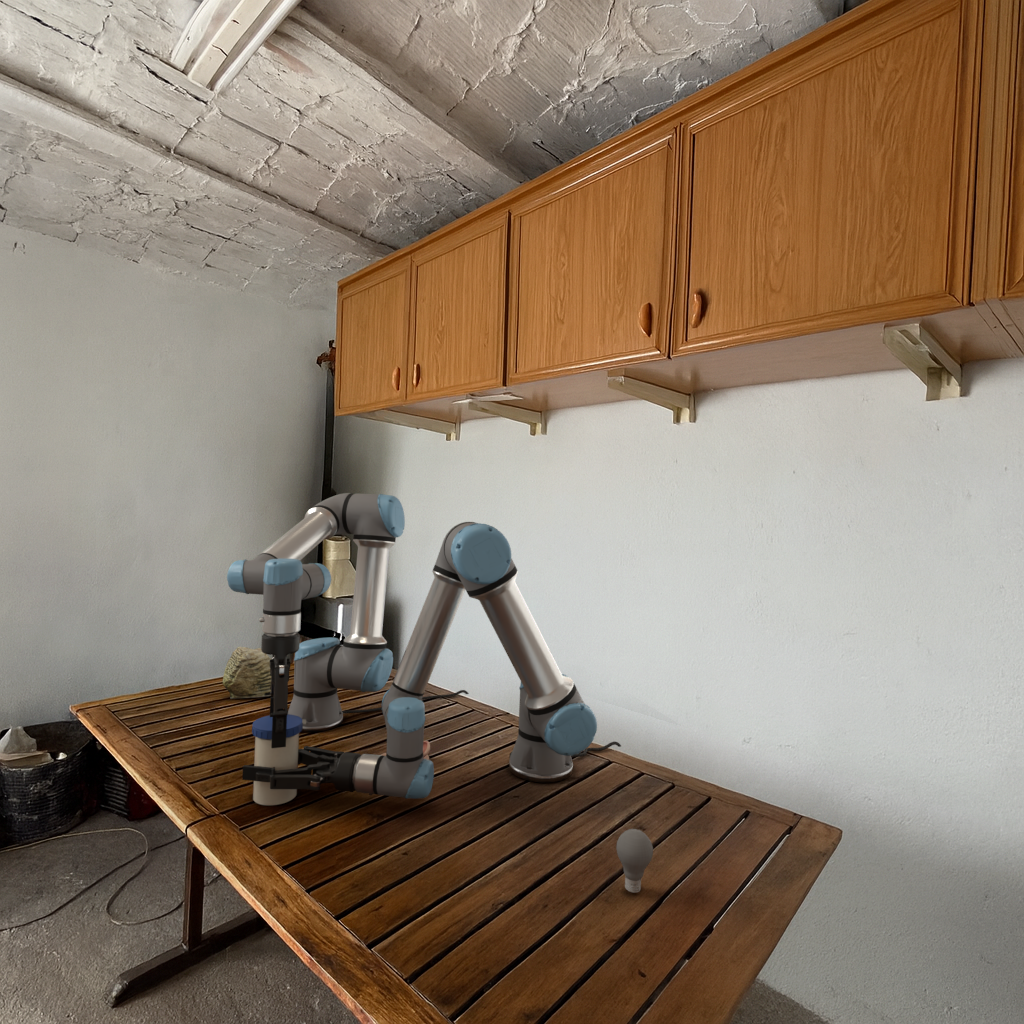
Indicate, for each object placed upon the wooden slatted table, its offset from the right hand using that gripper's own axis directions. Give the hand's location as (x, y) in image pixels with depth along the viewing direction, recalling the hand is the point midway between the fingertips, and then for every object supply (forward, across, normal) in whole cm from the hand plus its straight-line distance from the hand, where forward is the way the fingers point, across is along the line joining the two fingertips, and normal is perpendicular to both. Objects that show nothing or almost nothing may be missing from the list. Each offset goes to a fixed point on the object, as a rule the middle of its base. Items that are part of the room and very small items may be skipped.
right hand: (255, 762), depth 134 cm
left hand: (-5, 0, +6) cm, 8 cm away
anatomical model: (-25, +22, -6) cm, 34 cm away
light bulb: (-78, -20, -6) cm, 80 cm away
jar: (-5, 0, -6) cm, 8 cm away
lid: (-5, 0, +9) cm, 10 cm away
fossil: (+33, +61, -6) cm, 69 cm away
